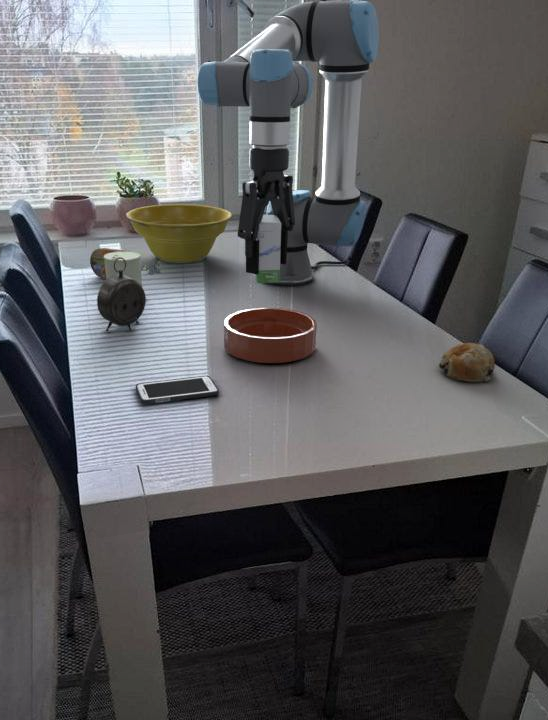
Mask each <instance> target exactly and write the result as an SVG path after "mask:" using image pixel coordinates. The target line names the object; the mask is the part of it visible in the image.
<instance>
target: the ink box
mask: <svg viewBox="0 0 548 720" xmlns="http://www.w3.org/2000/svg"><path fill="white" fill-rule="evenodd" d="M256 240H259V274H257V275H256V274H253V275H254V278H255V281H256V283H257V284H269V283H279V282H280V249H281V222H280V220H279V218H278V217H277V216H275V215H267V214H263V217H262V221H261V223H260V224H259V231H258V235H257V238H256Z"/></svg>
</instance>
